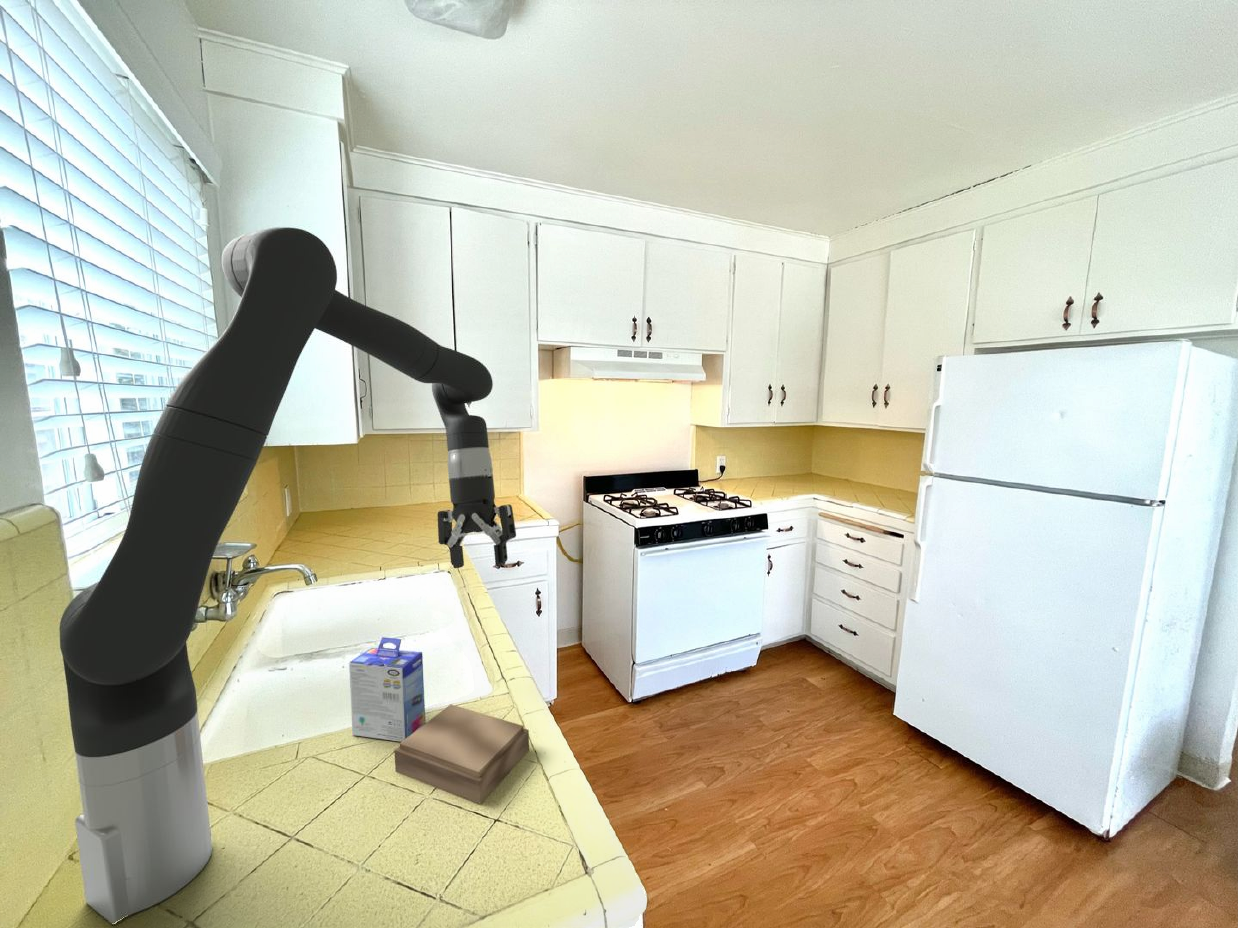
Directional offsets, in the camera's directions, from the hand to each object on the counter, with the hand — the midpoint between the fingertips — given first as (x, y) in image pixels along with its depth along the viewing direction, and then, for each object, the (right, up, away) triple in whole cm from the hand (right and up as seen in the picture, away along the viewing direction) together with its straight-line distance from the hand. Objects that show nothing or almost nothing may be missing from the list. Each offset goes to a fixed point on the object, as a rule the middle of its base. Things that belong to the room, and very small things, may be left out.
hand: (479, 566), depth 84 cm
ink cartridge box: (-12, -25, -7) cm, 29 cm away
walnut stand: (+2, -25, -15) cm, 29 cm away
